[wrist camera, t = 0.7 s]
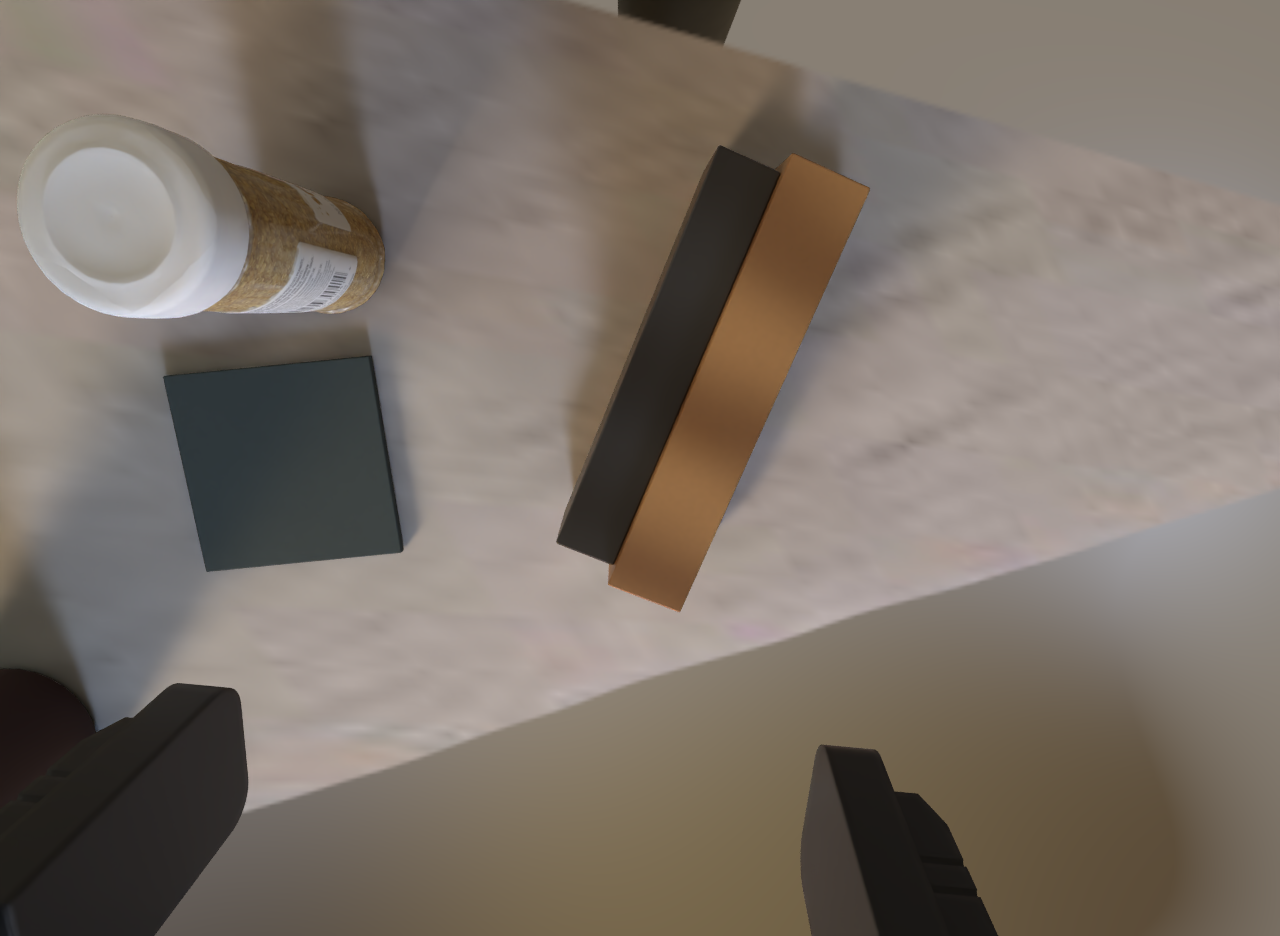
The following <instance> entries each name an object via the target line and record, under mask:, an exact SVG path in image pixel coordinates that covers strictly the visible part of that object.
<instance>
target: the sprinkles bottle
mask: <svg viewBox="0 0 1280 936" xmlns="http://www.w3.org/2000/svg"><path fill="white" fill-rule="evenodd" d="M17 212H18V220H19V225H20V229H21V232H22V235H23V238H24V241H25V243H26V245H27V247H28V249H29V252H30V254H31V256H32V257H33V259H34V260H35V262H36V263H37V265H38V266H39V268H40V269H41V270H42V272H43V273H44V274H45V276H46V277H47V278H48V279H49V280H50V281H51V282H52V283H53V284H54V285H55V286H56V287H57V288H59V289H60V290H61V291H62V292H63V293H65V294H66V295H67V296H69V297H71V298H72V299H74V300H75V301H77V302H78V303H80V304H82V305H84V306H86V307H88V308H91V309H93V310H96V311H98V312H101V313H105V314H109V315H113V316H119V317H128V318H179V317H185V316H189V315H193V314H196V313H199V312H201V311H214V312H221V313H296V312H309V311H316V312H320V313H326V314H335V313H343V312H346V311H348V310H353V309H355V308H356V307H358V306H360V305H362V304H364V303H365V302H366V301H367V300H368V299H369V298H370V297H371V296H372V295H373V294H374V292H375V291H376V289H377V288H378V287H379V284H380V281H381V279H382V276H383V272H384V262H385V250H384V245H383V243H382V240H381V237H380V235H379V233H378V231H377V230H376V228H375V226H374V225H373V224H372V223H371V221H370V220H369V219H368V218H367V216H366V215H365V214H364V213H363V212H362V211H360V210H359V209H358V208H356V207H355V206H353V205H351V204H349V203H347V202H345V201H343V200H340V199H336V198H332V197H328V196H324V197H323V196H322V195H320V194H318V193H316V192H314V191H311V190H309V189H306V188H303V187H300V186H297V185H295V184H292V183H289V182H286V181H283V180H280V179H278V178H275V177H272V176H269V175H267V174H264V173H261V172H259V171H256V170H253V169H250V168H246V167H242V166H239V165H234V164H232V163H229V162H227V161H224V160H221V159H218V158H216V157H213V156H212V155H211V154H210V153H209V152H208V151H206V150H205V149H204V148H202V147H201V146H200V145H198V144H196V143H195V142H193V141H191V140H190V139H187V138H185V137H183V136H181V135H178V134H176V133H174V132H171V131H169V130H166V129H164V128H161V127H159V126H156V125H153V124H150V123H147V122H144V121H141V120H137V119H133V118H130V117H126V116H121V115H110V114H96V115H88V116H83V117H80V118H76V119H73V120H70V121H68V122H66V123H64V124H62V125H60V126H58V127H56V128H54V129H53V130H52V131H50V132H49V133H48V134H47V135H45V136H44V137H43V138H42V139H41V140H40V141H39V142H38V144H37V145H36V146H35V147H34V149H33V150H32V151H31V153H30V154H29V156H28V158H27V160H26V162H25V164H24V166H23V169H22V172H21V175H20V179H19V185H18V191H17Z"/></svg>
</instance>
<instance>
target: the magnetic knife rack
mask: <svg viewBox="0 0 1280 936" xmlns="http://www.w3.org/2000/svg"><path fill="white" fill-rule="evenodd" d="M869 191H870V188H869V187H867V186H865V185H863V184H860V183H858V182H856V181H854V180H852V179H849V178H847V177H845V176H843V175H841V174H839V173H836V172H834V171H832V170H830V169H828V168H825V167H823V166H821V165H819V164H817V163H814V162H812V161H810V160H808V159H806V158H804V157H801V156H799V155H797V154H795V153H792V154H791V155H790V156H789V157H788V158H787V159H786V160H785V161H784V162H783V163H782V164H780V165H779V166H778V167H777V168H776V169H775V170H774V169H772V168H770V167H767V166H765V165H763V164H761V163H759V162H756V161H754V160H752V159H750V158H748V157H745V156H743V155H741V154H739V153H737V152H734V151H732V150H730V149H728V148H726V147H723V146H721V145H719V146H718V148H717V149H716V151H715V153H714V154H713V156H712V158H711V160H710V161H709V163H708V165H707V166H706V168H705V170H704V171H703V174H702V176H701V179H700V181H699V184H698V186H697V189H696V191H695V194H694V196H693V198H692V201H691V203H690V206H689V208H688V211H687V213H686V216H685V218H684V220H683V223H682V225H681V228H680V230H679V233H678V235H677V238H676V240H675V242H674V245H673V247H672V250H671V252H670V255H669V257H668V260H667V262H666V265H665V267H664V269H663V272H662V274H661V277H660V279H659V282H658V284H657V287H656V289H655V291H654V294H653V296H652V299H651V301H650V304H649V306H648V309H647V311H646V313H645V316H644V318H643V321H642V323H641V326H640V328H639V331H638V333H637V336H636V338H635V340H634V343H633V345H632V348H631V350H630V353H629V355H628V358H627V360H626V362H625V365H624V367H623V370H622V372H621V375H620V377H619V380H618V382H617V385H616V387H615V389H614V392H613V394H612V397H611V399H610V402H609V404H608V407H607V409H606V411H605V414H604V416H603V419H602V421H601V424H600V426H599V429H598V431H597V433H596V436H595V438H594V441H593V443H592V446H591V448H590V451H589V453H588V456H587V458H586V460H585V463H584V465H583V468H582V470H581V473H580V475H579V478H578V480H577V482H576V485H575V487H574V490H573V492H572V495H571V497H570V500H569V502H568V504H567V507H566V509H565V512H564V516H563V520H562V523H561V527H560V530H559V534H558V538H557V541H556V542H557V544H559V545H562V546H564V547H567V548H569V549H572V550H575V551H577V552H580V553H582V554H585V555H588V556H590V557H593V558H595V559H598V560H601V561H603V562H606V563H608V564H609V576H608V585H609V586H612V587H615V588H617V589H620V590H622V591H625V592H628V593H630V594H633V595H635V596H638V597H641V598H643V599H646V600H648V601H651V602H654V603H656V604H659V605H662V606H664V607H667V608H669V609H672V610H675V611H677V612H680V611H681V609H682V607H683V604H684V602H685V600H686V598H687V596H688V593H689V591H690V589H691V587H692V584H693V582H694V580H695V578H696V576H697V573H698V571H699V569H700V567H701V564H702V562H703V560H704V558H705V556H706V553H707V551H708V549H709V547H710V544H711V542H712V540H713V538H714V536H715V533H716V531H717V529H718V527H719V524H720V522H721V520H722V518H723V516H724V513H725V511H726V509H727V507H728V504H729V502H730V500H731V498H732V496H733V493H734V491H735V489H736V487H737V484H738V482H739V480H740V478H741V476H742V473H743V471H744V469H745V467H746V464H747V462H748V460H749V458H750V456H751V453H752V451H753V449H754V447H755V444H756V442H757V440H758V438H759V435H760V433H761V431H762V429H763V427H764V424H765V422H766V420H767V418H768V415H769V413H770V411H771V409H772V407H773V404H774V402H775V400H776V398H777V395H778V393H779V391H780V389H781V387H782V384H783V382H784V380H785V378H786V375H787V373H788V371H789V369H790V367H791V364H792V362H793V360H794V358H795V355H796V353H797V351H798V349H799V347H800V344H801V342H802V340H803V338H804V335H805V333H806V331H807V329H808V327H809V324H810V322H811V320H812V318H813V315H814V313H815V311H816V309H817V307H818V304H819V302H820V300H821V298H822V295H823V293H824V291H825V289H826V287H827V284H828V282H829V280H830V278H831V275H832V273H833V271H834V269H835V267H836V264H837V262H838V260H839V258H840V255H841V253H842V251H843V249H844V247H845V244H846V242H847V240H848V238H849V235H850V233H851V231H852V229H853V227H854V224H855V222H856V220H857V218H858V215H859V213H860V211H861V209H862V207H863V204H864V202H865V200H866V198H867V195H868V193H869Z"/></svg>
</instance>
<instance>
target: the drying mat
mask: <svg viewBox="0 0 1280 936" xmlns="http://www.w3.org/2000/svg"><path fill="white" fill-rule="evenodd" d="M163 378H164V383H165V387H166V392H167V396H168V401H169V405H170V410H171V414H172V419H173V423H174V428H175V432H176V437H177V441H178V446H179V450H180V455H181V459H182V464H183V468H184V473H185V477H186V482H187V486H188V491H189V495H190V500H191V504H192V509H193V513H194V518H195V522H196V527H197V531H198V536H199V540H200V545H201V549H202V554H203V558H204V563H205V567H206V571H207V572H210V571H220V570H230V569H240V568H250V567H261V566H271V565H281V564H291V563H301V562H311V561H321V560H331V559H341V558H352V557H362V556H372V555H382V554H392V553H401V552H402V551H403V550H404V549H403V542H402V536H401V530H400V524H399V518H398V512H397V506H396V500H395V494H394V488H393V482H392V476H391V470H390V464H389V458H388V452H387V446H386V440H385V434H384V428H383V422H382V416H381V410H380V403H379V397H378V391H377V385H376V379H375V373H374V367H373V361H372V356H364V357H354V358H343V359H333V360H323V361H312V362H302V363H292V364H282V365H271V366H261V367H251V368H240V369H230V370H220V371H210V372H199V373H189V374H179V375H169V376H164V377H163Z"/></svg>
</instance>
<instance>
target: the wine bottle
mask: <svg viewBox="0 0 1280 936" xmlns="http://www.w3.org/2000/svg"><path fill="white" fill-rule="evenodd" d="M94 733H96V730H95V727H94V724H93V721H92V719H91V717H90V716H89V714H88V712H87V710H86V709H85V707H84V706H83V705H82V704H81V702H80V701H79V700H78V699H77V698H76V696H74V695H73V694H72V693H71V692H70V691H68V690H67V689H66V688H65V687H64V686H62V685H60V684H59V683H57V682H55V681H54V680H52V679H50V678H48V677H45V676H43V675H40V674H38V673H35V672H31V671H26V670H21V669H0V809H1V808H2V807H3V806H5V805H6V804H7V803H8V802H9V801H10V800H12V801H16V799H17V798H18V794H19V793H20V792H21V791H22V790H23V789H25V788H26V787H27V786H28V785H29V784H30V783H32V782H33V781H34V780H35V779H36V778H38V777H39V776H40V775H42V776H45V775H46V773H47V769H48V768H49V767H51V766H52V765H53V764H54V763H55V762H56V761H58V760H59V759H60V758H61V757H62V756H64V755H65V754H66V753H67V752H68V751H69V750H71V749H72V748H73V747H74V746H75V745H76V744H78V743H79V742H80V741H81V740H83V739H85V738H87V737H89V736H91V735H93V734H94Z"/></svg>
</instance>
